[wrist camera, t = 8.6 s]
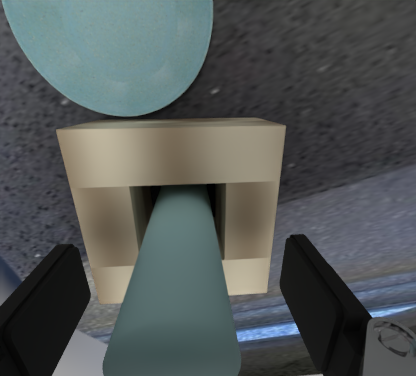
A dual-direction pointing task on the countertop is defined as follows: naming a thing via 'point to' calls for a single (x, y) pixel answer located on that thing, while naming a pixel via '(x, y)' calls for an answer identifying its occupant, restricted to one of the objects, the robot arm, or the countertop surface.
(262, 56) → the countertop surface
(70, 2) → the saucer
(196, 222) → the teal dowel
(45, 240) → the countertop surface
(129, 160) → the birch hole block
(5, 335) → the robot arm
